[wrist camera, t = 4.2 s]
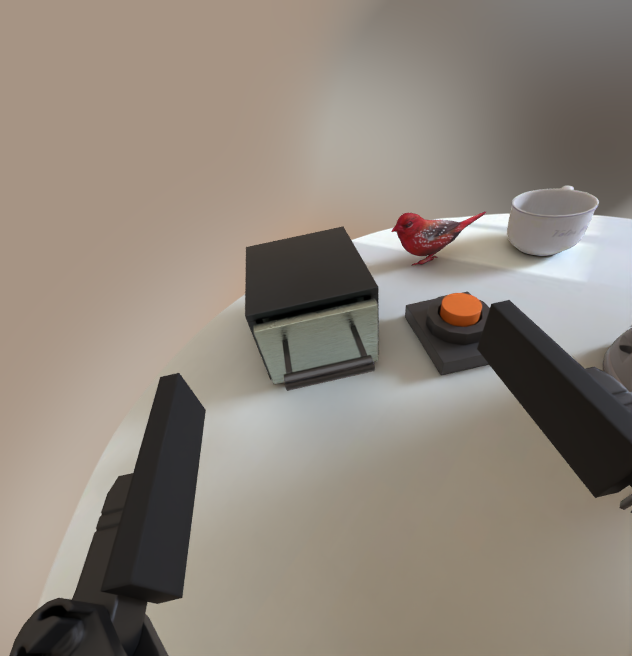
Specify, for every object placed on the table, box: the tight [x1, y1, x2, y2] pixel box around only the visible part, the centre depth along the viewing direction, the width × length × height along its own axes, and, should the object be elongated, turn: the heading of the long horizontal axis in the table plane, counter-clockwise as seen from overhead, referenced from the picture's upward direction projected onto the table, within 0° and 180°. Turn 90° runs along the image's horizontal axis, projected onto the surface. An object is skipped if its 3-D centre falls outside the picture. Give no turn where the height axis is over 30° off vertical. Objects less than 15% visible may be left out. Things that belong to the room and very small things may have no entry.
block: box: [405, 292, 490, 375], centre depth 38 cm, size 11×9×4 cm
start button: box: [440, 293, 482, 327], centre depth 36 cm, size 4×4×2 cm
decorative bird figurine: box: [392, 212, 486, 266], centre depth 50 cm, size 3×18×10 cm, turn 109°
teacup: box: [507, 186, 599, 256], centre depth 49 cm, size 14×11×8 cm
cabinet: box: [245, 227, 379, 379], centre depth 41 cm, size 16×14×11 cm
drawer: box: [254, 297, 378, 391], centre depth 37 cm, size 21×13×9 cm, turn 10°
